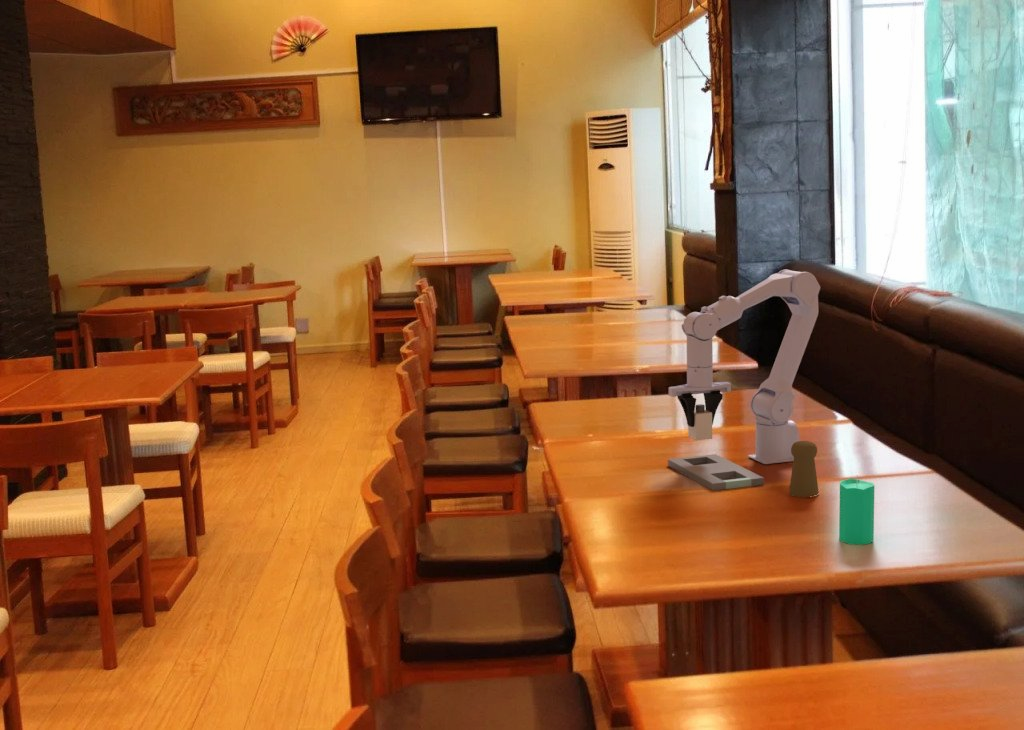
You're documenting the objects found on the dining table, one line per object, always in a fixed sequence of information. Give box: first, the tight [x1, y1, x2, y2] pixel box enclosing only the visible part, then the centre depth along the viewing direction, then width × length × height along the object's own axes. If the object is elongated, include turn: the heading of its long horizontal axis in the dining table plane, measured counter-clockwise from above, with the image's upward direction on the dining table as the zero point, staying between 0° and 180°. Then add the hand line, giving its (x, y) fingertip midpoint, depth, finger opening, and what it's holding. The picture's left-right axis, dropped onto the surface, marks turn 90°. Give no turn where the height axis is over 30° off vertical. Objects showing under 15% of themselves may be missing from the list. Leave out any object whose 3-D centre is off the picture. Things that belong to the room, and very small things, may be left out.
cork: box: [788, 440, 820, 498], centre depth 237 cm, size 6×6×11 cm
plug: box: [687, 403, 713, 441], centre depth 260 cm, size 4×4×8 cm
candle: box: [838, 474, 875, 546], centre depth 207 cm, size 6×6×12 cm
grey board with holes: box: [667, 453, 765, 491], centre depth 255 cm, size 12×23×2 cm, turn 16°
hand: (700, 425), depth 260 cm, fingers closed on plug, 4 cm apart
